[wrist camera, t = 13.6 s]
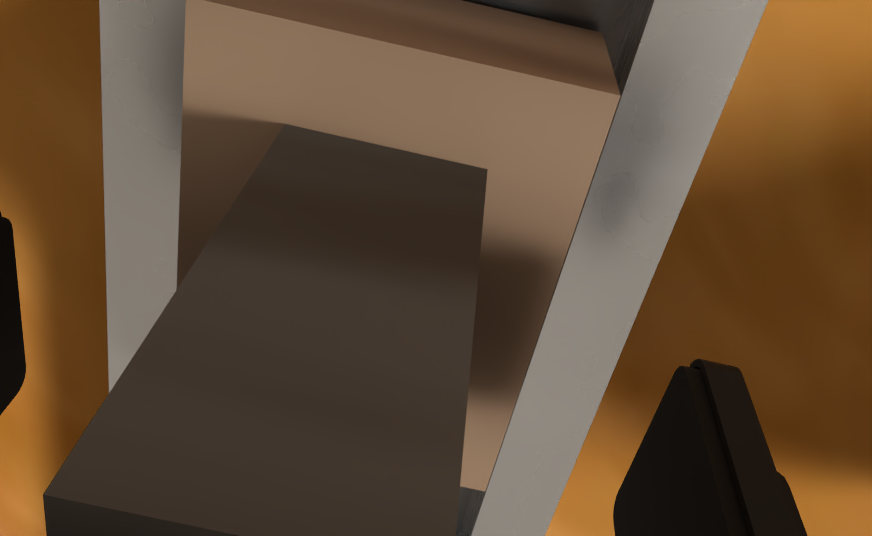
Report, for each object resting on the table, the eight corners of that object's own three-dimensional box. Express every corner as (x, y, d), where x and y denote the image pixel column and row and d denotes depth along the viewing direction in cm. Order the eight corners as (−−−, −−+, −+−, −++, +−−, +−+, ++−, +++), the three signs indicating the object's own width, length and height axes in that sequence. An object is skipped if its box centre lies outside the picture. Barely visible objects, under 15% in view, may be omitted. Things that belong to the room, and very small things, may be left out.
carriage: (249, -50, 13) (-215, 279, 5) (602, 32, 14) (730, 482, 5) (222, 329, 18) (-53, 850, 9) (490, 387, 18) (461, 950, 9)
